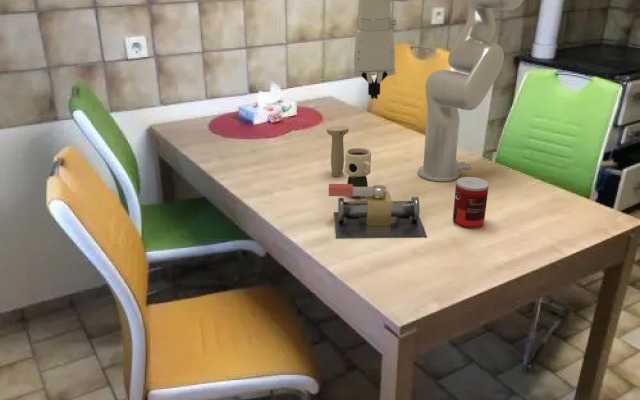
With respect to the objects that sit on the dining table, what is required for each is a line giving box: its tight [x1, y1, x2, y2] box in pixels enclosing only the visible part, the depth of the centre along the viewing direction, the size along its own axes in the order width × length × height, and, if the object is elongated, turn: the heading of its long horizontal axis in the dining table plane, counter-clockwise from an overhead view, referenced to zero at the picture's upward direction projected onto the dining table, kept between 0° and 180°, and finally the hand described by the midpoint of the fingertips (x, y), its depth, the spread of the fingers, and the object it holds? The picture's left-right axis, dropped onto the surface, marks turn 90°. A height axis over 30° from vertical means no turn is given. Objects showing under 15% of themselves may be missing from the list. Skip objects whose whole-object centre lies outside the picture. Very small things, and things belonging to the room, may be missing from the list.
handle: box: [326, 125, 349, 178], centre depth 177 cm, size 5×6×15 cm
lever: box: [328, 183, 387, 198], centre depth 148 cm, size 14×4×2 cm, turn 87°
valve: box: [333, 191, 428, 239], centre depth 148 cm, size 22×14×7 cm, turn 91°
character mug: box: [344, 147, 372, 198], centre depth 164 cm, size 11×7×13 cm, turn 33°
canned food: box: [452, 176, 489, 229], centre depth 148 cm, size 8×8×11 cm
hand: (374, 97), depth 154 cm, fingers closed
